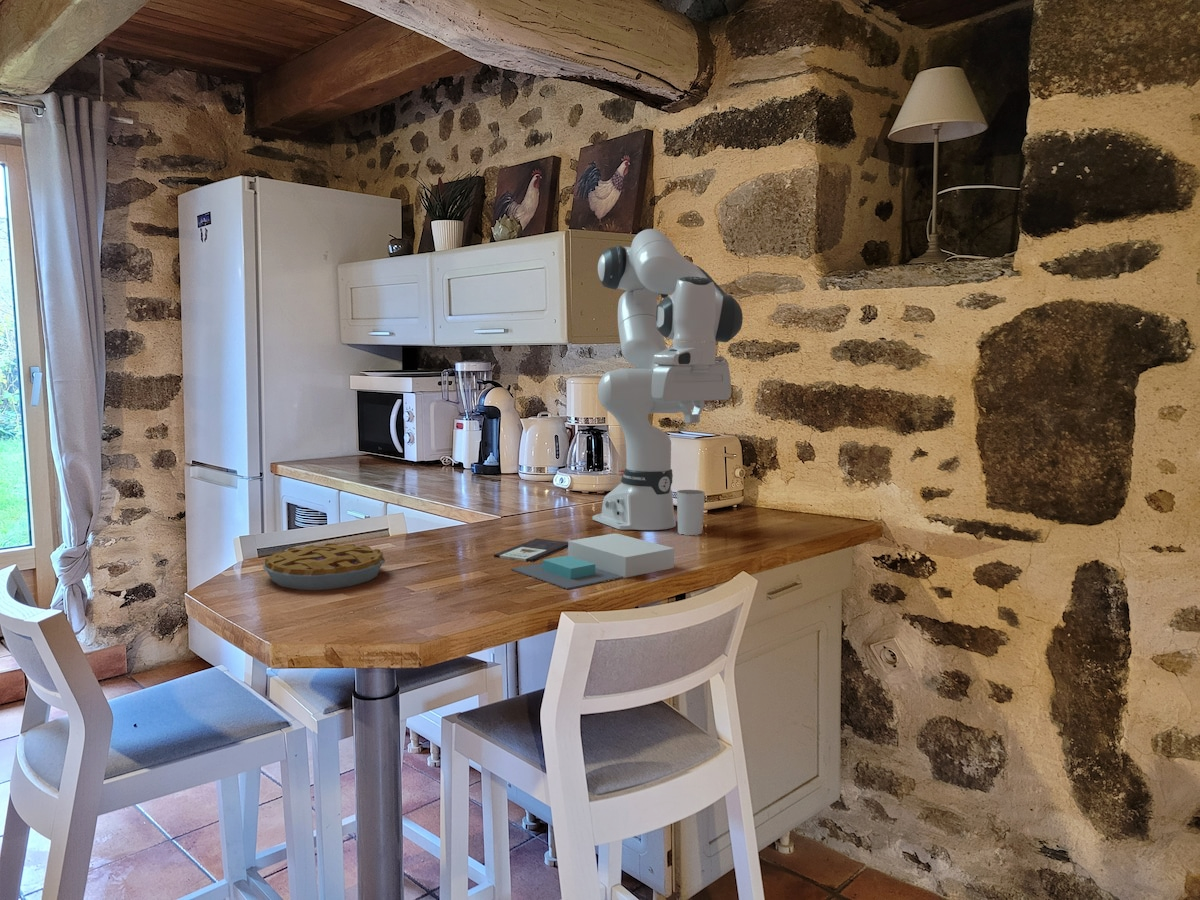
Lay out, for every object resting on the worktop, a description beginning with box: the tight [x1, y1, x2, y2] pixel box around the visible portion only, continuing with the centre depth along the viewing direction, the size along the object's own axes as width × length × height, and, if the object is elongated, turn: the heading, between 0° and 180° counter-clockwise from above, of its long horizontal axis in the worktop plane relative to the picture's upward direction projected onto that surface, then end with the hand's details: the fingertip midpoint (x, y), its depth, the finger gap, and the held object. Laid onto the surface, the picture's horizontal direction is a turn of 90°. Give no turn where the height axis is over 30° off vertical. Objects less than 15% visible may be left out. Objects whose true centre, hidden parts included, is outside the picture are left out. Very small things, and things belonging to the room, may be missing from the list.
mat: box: [511, 562, 624, 590], centre depth 171 cm, size 18×14×1 cm
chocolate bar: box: [493, 538, 568, 563], centre depth 190 cm, size 9×1×18 cm
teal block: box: [542, 555, 595, 579], centre depth 171 cm, size 9×6×2 cm, turn 40°
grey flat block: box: [567, 533, 675, 578], centre depth 179 cm, size 18×13×4 cm
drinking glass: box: [676, 489, 706, 536], centre depth 210 cm, size 7×7×10 cm
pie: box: [262, 543, 386, 591], centre depth 166 cm, size 22×22×5 cm
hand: (691, 422), depth 183 cm, fingers closed
